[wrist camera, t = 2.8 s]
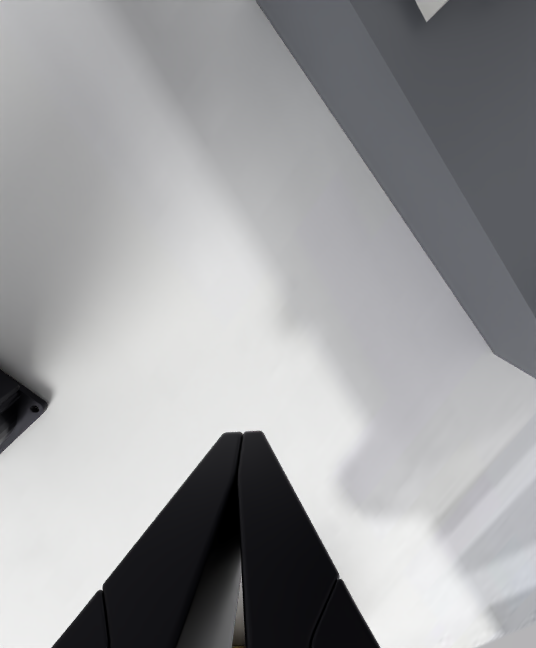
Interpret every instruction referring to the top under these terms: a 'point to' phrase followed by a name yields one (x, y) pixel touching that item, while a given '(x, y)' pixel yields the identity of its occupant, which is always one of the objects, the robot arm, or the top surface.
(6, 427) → the robot arm
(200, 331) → the top surface
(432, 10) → the rocker switch
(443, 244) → the power strip
